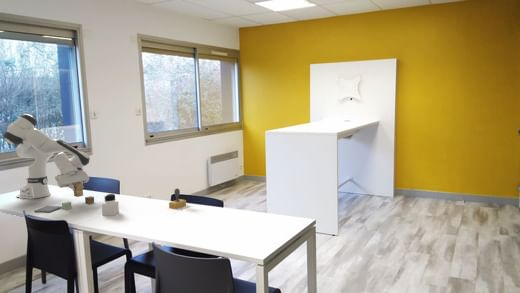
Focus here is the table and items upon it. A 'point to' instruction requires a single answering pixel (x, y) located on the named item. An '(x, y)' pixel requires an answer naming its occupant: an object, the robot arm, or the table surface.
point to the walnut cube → (89, 199)
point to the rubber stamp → (177, 201)
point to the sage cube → (66, 205)
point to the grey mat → (48, 209)
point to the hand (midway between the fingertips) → (78, 189)
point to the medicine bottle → (110, 205)
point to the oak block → (78, 190)
